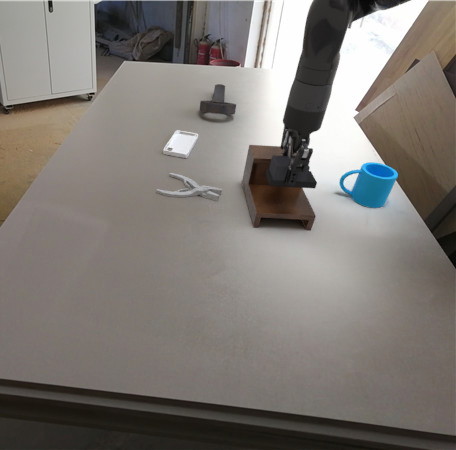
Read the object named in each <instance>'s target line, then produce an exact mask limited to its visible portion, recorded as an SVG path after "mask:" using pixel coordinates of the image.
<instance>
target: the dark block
mask: <svg viewBox="0 0 456 450" xmlns="http://www.w3.org/2000/svg"><path fill="white" fill-rule="evenodd" d="M289 160H290V159H289V158H288V156H276V155H272V159H271V163H270V167H269V169H267V170H266V174H265V175H266V177H267V180H268V183H269V186H278V187H297V188H303V189H316V187H317V184H318V182H317V179H316V178H315V175H313V172H312V171H311V170H310V169H311V167H310V164H309V165H308V164H307V167H306V169H305V171H304V172H299V173H298V177H297V180H296V183H295V185H286V184H285V178H286V174H287V171H288V166H289ZM294 160H295V159H294ZM293 162H294V161H293Z"/></svg>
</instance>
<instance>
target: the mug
mask: <svg viewBox="0 0 456 450" xmlns="http://www.w3.org/2000/svg"><path fill="white" fill-rule="evenodd" d="M355 174H358V175H357V177H356V179H355V181H354V184H353V186H352V189H351V190H349V189H348V188H346V186H345V184H344V181H346V179H347V178H348V177H349V176H352V175H355ZM398 176H399V173H398V172H397V170H396V169H394V168H393V167H390V166H389V165H387V164H384V163H380V162H366V163H365V162H364V163H363V164H362V165H361V166H360V168H359V169H353V170H349V171H346V172H345V173H344V174H342V175H341V177H340V178H339V181H338V182H339V184H338V185H339V187H340V189H341V190H342V191H343V192H344V193H346V194H348V195H350V198H351V200H353V201H354V203H357V204H358V205H360V206H363V207H366V208H372V209H379V208H382V207H384V206H385V205H386V202H387V200H388V198H389V196H390V194H391V192H392V189H393V187H394V185H395V183H396V181H397V179H398Z"/></svg>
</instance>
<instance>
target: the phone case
mask: <svg viewBox="0 0 456 450" xmlns="http://www.w3.org/2000/svg"><path fill="white" fill-rule="evenodd" d="M198 140H199V134H198V133H196V132H192V131H191V132H190V131H185V130H179V129H177V130H175V131H174V133H173V134H172V136H171V137H170V139H169V140H168V141H167V143H166V144H165V146H164V147H163V149H162V154H163V155H165V156H166V155H167V156H172V157H177V158H181V159H187V158H188V157H189V156H190V154H191V152H192V150H193V149H194V147H195V145H196V143H197V142H198ZM168 149H171V150H168Z"/></svg>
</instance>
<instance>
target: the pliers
mask: <svg viewBox="0 0 456 450" xmlns="http://www.w3.org/2000/svg"><path fill="white" fill-rule="evenodd" d="M168 175H169V177H170V178H174V179H177V180H179V181H182V182H183V183H184V185H185V188H181V189H177V190H175V191H170V190H164V189H158V188H156V194H160V195H163V196H165V197H172V198H189V197H197V196H200V197H203V198H205V199H208V200H212V201H215V202H219V200H220V196H222V191H223V188H220V187H215V186H212V185H211V186H210V185H199V184H198V183H197V182H196V181H194V179H191V178H190V177H187V176H184V175H182V174H178V173H173V172H169V173H168ZM191 188H192V189H191ZM190 189H191V190H190Z"/></svg>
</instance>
